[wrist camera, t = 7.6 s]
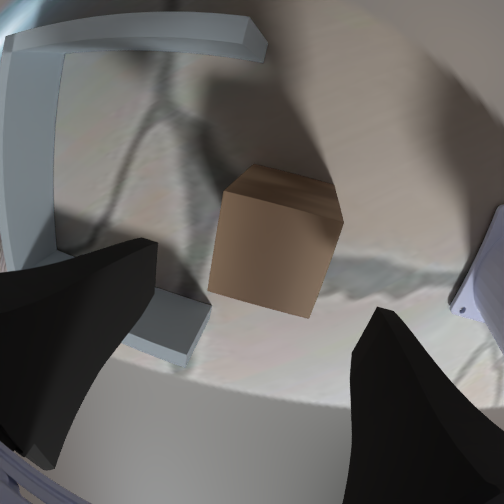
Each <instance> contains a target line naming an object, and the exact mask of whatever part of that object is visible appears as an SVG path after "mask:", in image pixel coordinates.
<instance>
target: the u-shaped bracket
mask: <svg viewBox="0 0 504 504" xmlns="http://www.w3.org/2000/svg"><path fill="white" fill-rule="evenodd" d="M267 46H268V42H267V41H266V39H265V38H264V36H263V35H262V33H261V32H260V31H259V29H258V28H257V26H256V25H255V24H254V22H253V21H252V20H251V18H250V17H248V16H240V15H230V14H219V13H204V12H138V13H123V14H112V15H103V16H95V17H88V18H81V19H75V20H70V21H64V22H59V23H54V24H50V25H45V26H41V27H37V28H33V29H29V30H25V31H22V32H18V33H15V34H12V35H8V36H6V37H5V42H4V47H3V52H2V58H1V64H0V234H1V240H2V246H3V252H4V257H5V262H6V267H7V272H9V271H16V270H24V269H30V268H35V267H40V266H45V265H49V264H53V263H57V262H61V261H64V260H68V259H71V258H74V257H73V256H71V255H68V254H66V253H63V252H61V251H58V250H57V246H56V235H55V221H54V198H53V159H54V136H55V122H56V111H57V102H58V94H59V86H60V79H61V73H62V67H63V61H64V56H65V54H66V53H77V52H91V51H115V50H144V51H169V52H184V53H196V54H205V55H214V56H222V57H229V58H236V59H242V60H249V61H254V62H260V63H263V62H264V58H265V54H266V50H267ZM211 308H212V306H211V305H208V304H205V303H202V302H199V301H196V300H192V299H189V298H186V297H183V296H180V295H177V294H174V293H171V292H168V291H165V290H163V289H160V288H157V287H155V294H154V296H153V298H152V299H151V301H150V303H149V305H148V306H147V308H146V310H145V311H144V313H143V315H142V316H141V318H140V319H139V320H138V322H137V323H136V324H135V325H134V327H133V328H132V329H131V331H130V332H129V333H128V334H127V336H126V337H125V338H124V339H123V341H122V342H121V343H123V344H125V345H127V346H130V347H132V348H134V349H137V350H139V351H142V352H144V353H147V354H149V355H152V356H154V357H157V358H160V359H162V360H165V361H168V362H170V363H173V364H176V365H179V366H181V367H184V368H185V367H186V365H187V363H188V361H189V359H190V357H191V355H192V353H193V351H194V349H195V347H196V345H197V343H198V341H199V339H200V337H201V335H202V333H203V331H204V329H205V327H206V325H207V323H208V321H209V319H210V313H211Z"/></svg>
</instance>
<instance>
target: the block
mask: <svg viewBox="0 0 504 504" xmlns="http://www.w3.org/2000/svg"><path fill="white" fill-rule="evenodd" d="M343 224H344V221H343V217H342V213H341V209H340V205H339V201H338V197H337V193H336V190H335V186H334V185H333V184H329V183H326V182H322V181H319V180H315V179H312V178H308V177H304V176H301V175H297V174H293V173H289V172H285V171H281V170H277V169H273V168H269V167H265V166H261V165H257V164H253V165H252V166H251V167H249V168H248V169H247V170H246V171H245V172H244V173H243V174H242V175H241V176H239V177H238V178H237V179H236V180H235V181H234V182H233V183H232V184H231V185H230V186H228V187H227V188H226V189H225V190H224V192H223V198H222V204H221V209H220V215H219V221H218V227H217V233H216V239H215V245H214V251H213V258H212V264H211V271H210V277H209V284H208V290H207V291H210V292H213V293H216V294H220V295H223V296H227V297H230V298H234V299H237V300H241V301H244V302H248V303H251V304H255V305H259V306H262V307H266V308H270V309H273V310H277V311H281V312H285V313H288V314H292V315H296V316H300V317H304V318H308V319H309V317H310V315H311V312H312V310H313V307H314V305H315V302H316V299H317V297H318V294H319V291H320V289H321V286H322V283H323V281H324V278H325V275H326V273H327V270H328V267H329V264H330V261H331V259H332V256H333V253H334V250H335V247H336V244H337V241H338V239H339V236H340V233H341V230H342V227H343Z"/></svg>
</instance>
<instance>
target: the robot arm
mask: <svg viewBox="0 0 504 504" xmlns="http://www.w3.org/2000/svg"><path fill="white" fill-rule="evenodd" d="M157 247H158V243H157V242H154V241H151V240H148V239H144V238H137V239H133V240H129V241H126V242H122V243H119V244H116V245H113V246H110V247H107V248H104V249H100V250H97V251H94V252H91V253H88V254H85V255H81V256H78V257H74V258H71V259H68V260H64V261H61V262H57V263H53V264H49V265H45V266H40V267H35V268H30V269H24V270H16V271H9V272H1V273H0V504H32V503H31V502H29V501H28V500H27V499H25V498H24V497H22V496H21V494H20V492H19V486H18V484H20V485H21V486H22V487H24V488H25V489H26V490H27V491H29V492H30V493H32V494H33V495H34V496H36V497H37V498H39V499H40V500H41V501H43V502H44V503H46V504H91V503H89V502H87V501H86V500H84V499H82V498H80V497H78V496H77V495H75V494H73V493H72V492H70V491H68V490H67V489H65V488H63V487H62V486H60V485H59V484H57V483H56V482H54V481H53V480H51V479H49V478H48V477H47V476H45V475H44V474H42V473H40V472H39V471H38V470H36V469H35V468H34V467H32V466H31V465H30V464H28V463H27V462H26V461H24V460H23V459H21V458H20V457H19V456H18V455H17V454H15V453H14V452H13V451H14V450H15V451H16V452H17V453H19V454H20V455H21V456H23V457H26V458H28V459H29V460H30V461H32V462H33V463H35V464H36V465H37V466H39V467H40V468H42V469H43V470H52V469H55V466H56V463H57V460H58V457H59V455H60V452H61V449H62V447H63V444H64V441H65V439H66V436H67V434H68V431H69V429H70V427H71V425H72V423H73V420H74V418H75V416H76V414H77V411H78V410H79V408H80V406H81V404H82V402H83V400H84V398H85V396H86V394H87V392H88V391H89V389H90V387H91V385H92V383H93V382H94V380H95V378H96V377H97V374H98V373H99V371H100V370H101V368H102V367H103V366H104V364H105V363H106V361H107V360H108V359H109V357H110V356H111V355H112V354H113V352H114V351H115V350H116V348H117V347H118V346H119V345H120V343H121V342H122V341H123V339H124V338H125V337H126V336H127V334H128V333H129V332H130V331H131V329H132V328H133V327H134V325H135V324H136V323H137V322H138V320H139V319H140V318H141V316H142V315H143V313H144V311H145V310H146V308H147V306H148V305H149V303H150V301H151V299H152V298H153V296H154V294H155V276H156V260H157ZM462 307H464V308H463V309H462V310H460V309H461V308H462ZM450 310H451V312H452V314H454V315H458V316H461V317H465V318H469V319H472V320H476V321H479V322H483V323H486V325H487V326H488V328H489V330H490V332H491V333H492V335H493V337H494V339H495V340H496V342H497V344H498V346H499V348H500V350H501V351H502V353H503V355H504V205H500V206H498V208H497V209H496V212H495V215H494V217H493V219H492V222H491V224H490V227H489V229H488V231H487V234H486V236H485V238H484V240H483V243H482V245H481V247H480V249H479V251H478V253H477V256H476V258H475V260H474V262H473V264H472V266H471V268H470V270H469V272H468V274H467V276H466V277H465V279H464V281H463V283H462V285H461V287H460V289H459V290H458V292H457V294H456V296H455V298H454V299H453V301H452V303H451V305H450ZM350 395H351V420H352V448H351V457H350V465H349V473H348V478H347V484H346V489H345V494H344V499H343V503H342V504H504V431H503V430H502V429H500V428H499V427H498V426H497V425H495V424H494V423H493V422H492V421H491V420H489V419H488V418H487V417H486V416H485V415H484V414H483V413H482V412H481V411H479V410H478V409H477V408H476V407H475V406H474V405H473V404H472V403H471V402H470V401H469V400H468V399H467V398H466V397H465V396H464V395H463V394H462V393H461V392H460V391H459V390H458V389H457V388H456V386H455V385H454V384H453V383H452V382H451V381H450V380H449V379H448V377H447V376H446V375H445V374H444V372H443V371H442V370H441V369H440V368H439V366H438V365H437V364H436V363H435V362H434V360H433V359H432V358H431V357H430V355H429V354H428V353H427V351H426V350H425V349H424V347H423V346H422V345H421V344H420V342H419V341H418V340H417V338H416V337H415V336H414V334H413V333H412V332H411V331H410V329H409V328H408V327H407V326H406V324H405V323H404V322H403V321H402V319H401V318H400V317H399V316H398V315H397V314H396V313H395V312H394V311H391V310H388V309H384V308H380V307H377V308H376V310H375V312H374V314H373V315H372V317H371V319H370V321H369V323H368V325H367V327H366V328H365V330H364V332H363V334H362V336H361V337H360V339H359V341H358V343H357V344H356V346H355V348H354V350H353V351H352V358H351V369H350ZM17 483H18V484H17Z"/></svg>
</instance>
